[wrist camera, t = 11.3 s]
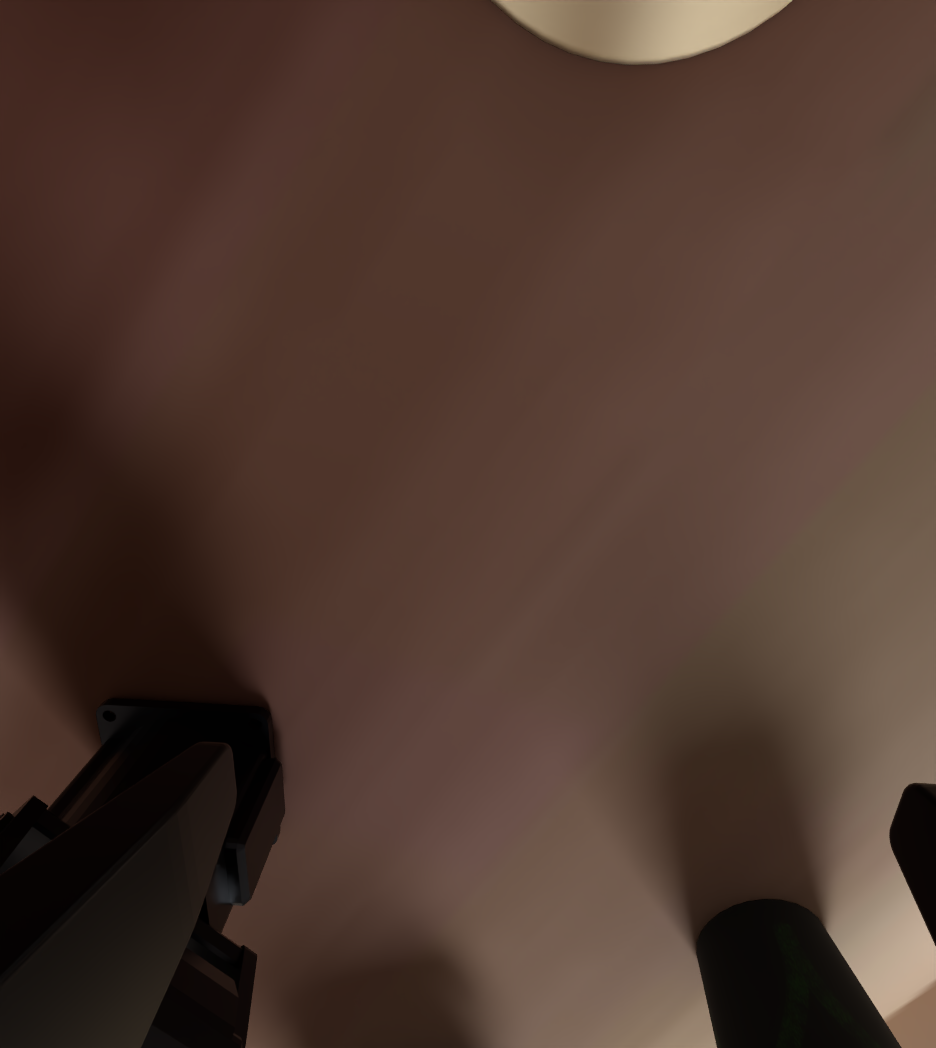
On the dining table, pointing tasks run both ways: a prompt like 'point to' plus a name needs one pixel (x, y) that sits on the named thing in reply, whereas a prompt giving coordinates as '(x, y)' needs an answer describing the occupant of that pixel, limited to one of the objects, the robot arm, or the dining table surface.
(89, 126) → the dining table surface
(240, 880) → the robot arm
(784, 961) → the cup
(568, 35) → the cork mat
